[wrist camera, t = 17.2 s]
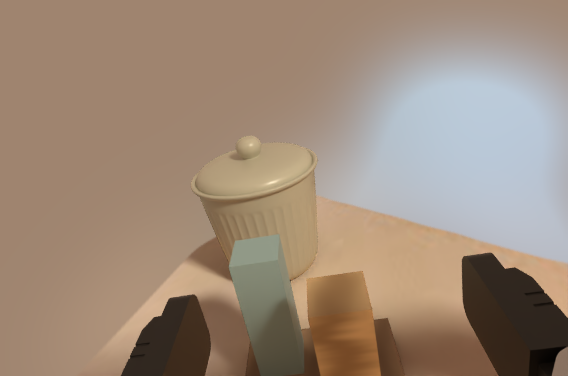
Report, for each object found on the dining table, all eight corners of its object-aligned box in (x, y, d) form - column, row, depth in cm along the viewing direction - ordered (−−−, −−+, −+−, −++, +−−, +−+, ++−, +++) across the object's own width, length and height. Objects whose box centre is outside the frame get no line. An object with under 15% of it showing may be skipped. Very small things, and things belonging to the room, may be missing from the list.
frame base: (389, 331, 48) (375, 210, 41) (438, 503, 31) (427, 346, 25) (254, 348, 49) (221, 234, 43) (234, 521, 33) (175, 377, 27)
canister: (358, 252, 64) (339, 120, 55) (273, 321, 53) (234, 172, 45) (279, 224, 76) (254, 114, 68) (198, 276, 66) (156, 153, 58)
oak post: (379, 394, 38) (362, 270, 33) (389, 441, 34) (372, 309, 29) (331, 399, 39) (306, 278, 33) (335, 446, 35) (308, 317, 29)
